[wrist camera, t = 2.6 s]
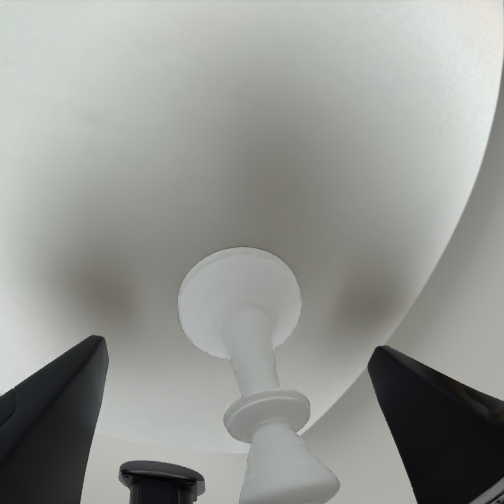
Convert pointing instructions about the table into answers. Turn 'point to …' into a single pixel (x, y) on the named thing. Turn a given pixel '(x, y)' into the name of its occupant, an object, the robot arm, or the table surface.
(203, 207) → the table surface
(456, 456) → the robot arm
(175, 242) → the table surface
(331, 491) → the chess piece
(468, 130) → the table surface
